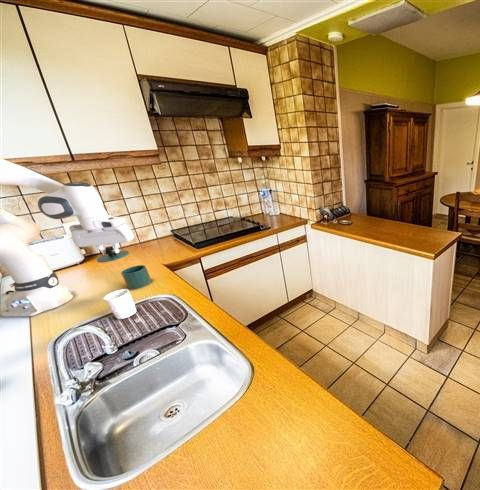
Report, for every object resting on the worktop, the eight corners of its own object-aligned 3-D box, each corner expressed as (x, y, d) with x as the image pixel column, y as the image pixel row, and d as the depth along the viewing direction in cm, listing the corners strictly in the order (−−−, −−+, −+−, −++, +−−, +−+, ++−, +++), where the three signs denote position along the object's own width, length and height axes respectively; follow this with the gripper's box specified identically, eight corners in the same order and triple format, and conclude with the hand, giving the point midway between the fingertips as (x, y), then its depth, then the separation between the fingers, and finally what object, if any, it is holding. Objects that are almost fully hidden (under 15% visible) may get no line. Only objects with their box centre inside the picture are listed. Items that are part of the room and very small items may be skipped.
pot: (123, 290, 130) (116, 275, 127) (136, 280, 139) (129, 266, 135) (144, 288, 131) (137, 273, 128) (155, 278, 140) (149, 264, 136)
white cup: (124, 321, 107) (113, 300, 103) (109, 319, 109) (98, 299, 105) (143, 309, 114) (133, 289, 110) (128, 307, 116) (118, 288, 112)
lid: (91, 265, 108) (84, 253, 106) (109, 254, 118) (104, 243, 116) (118, 262, 110) (113, 250, 107) (135, 251, 119) (130, 241, 117)
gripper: (60, 227, 103) (78, 259, 109) (117, 222, 105) (132, 253, 111) (74, 222, 109) (90, 253, 114) (128, 217, 111) (141, 247, 117)
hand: (111, 253), depth 113 cm, fingers closed on lid, 2 cm apart
